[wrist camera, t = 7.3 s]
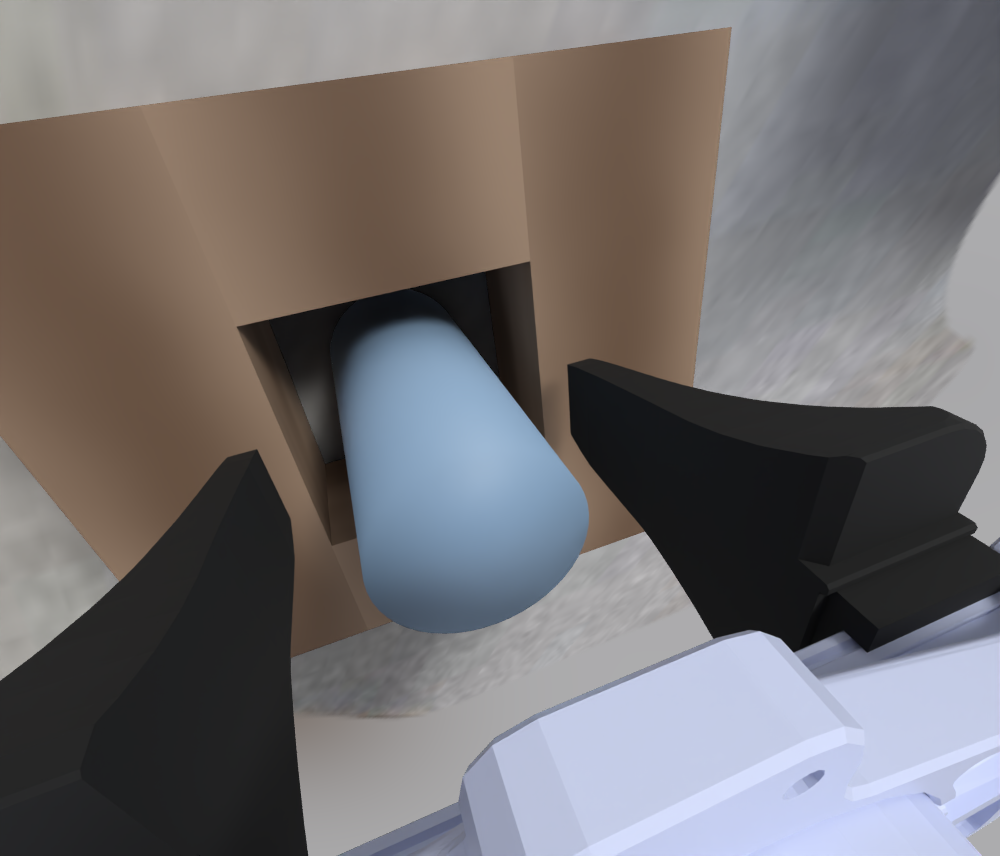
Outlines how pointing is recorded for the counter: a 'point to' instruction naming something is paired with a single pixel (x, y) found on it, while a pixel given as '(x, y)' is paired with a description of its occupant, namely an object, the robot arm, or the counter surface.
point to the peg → (446, 473)
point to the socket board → (341, 272)
